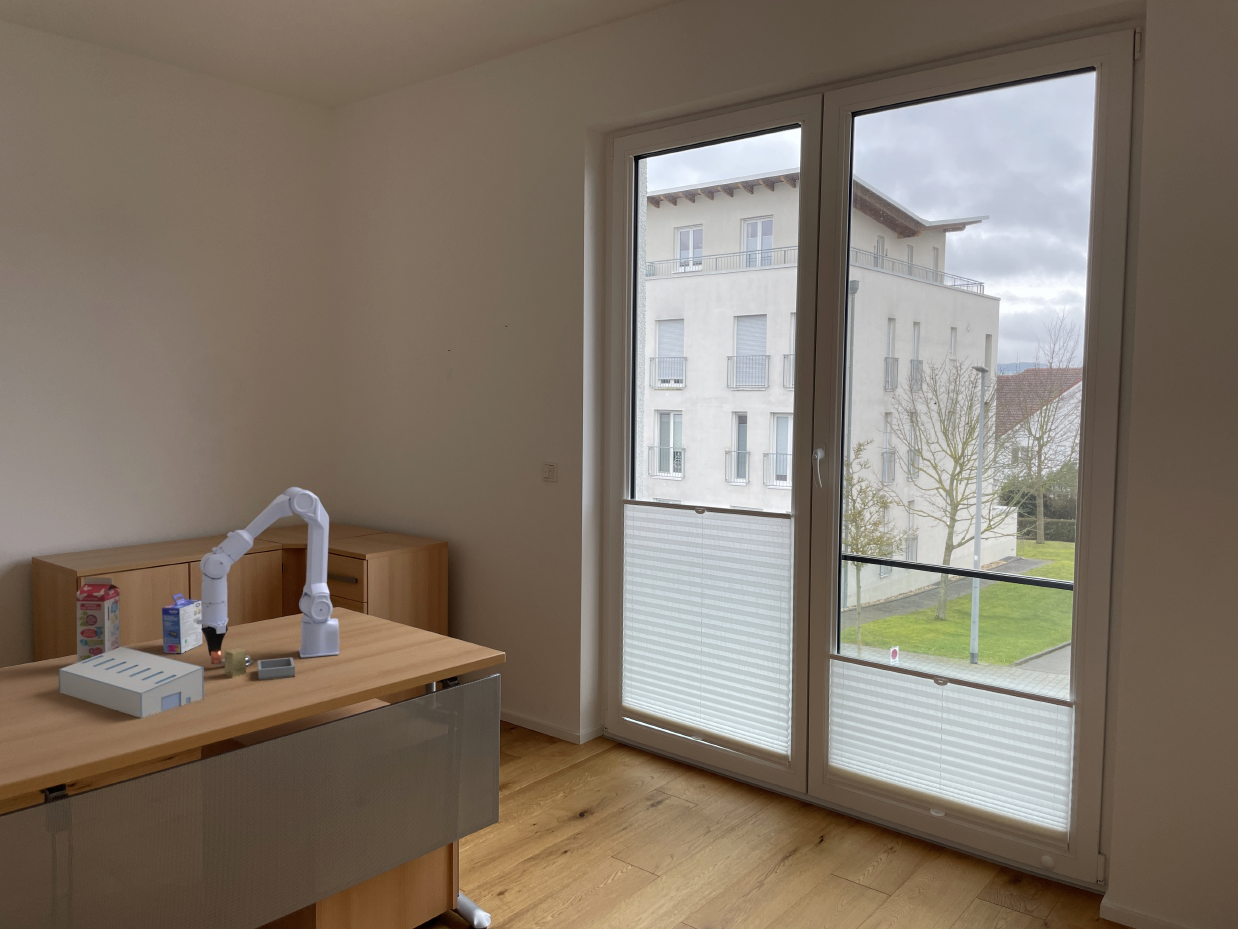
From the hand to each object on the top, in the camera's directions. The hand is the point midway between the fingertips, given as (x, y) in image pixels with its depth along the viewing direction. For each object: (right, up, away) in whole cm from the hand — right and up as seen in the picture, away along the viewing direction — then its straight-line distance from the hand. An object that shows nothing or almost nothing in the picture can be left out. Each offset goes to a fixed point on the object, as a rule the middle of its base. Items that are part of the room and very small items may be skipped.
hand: (214, 655), depth 214 cm
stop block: (+8, -3, -6) cm, 10 cm away
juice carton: (-28, -2, -1) cm, 28 cm away
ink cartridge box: (-16, -2, +15) cm, 22 cm away
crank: (+3, -2, +1) cm, 4 cm away
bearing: (+5, -3, +3) cm, 7 cm away
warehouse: (-8, -5, -22) cm, 24 cm away
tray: (+17, -4, -4) cm, 18 cm away
